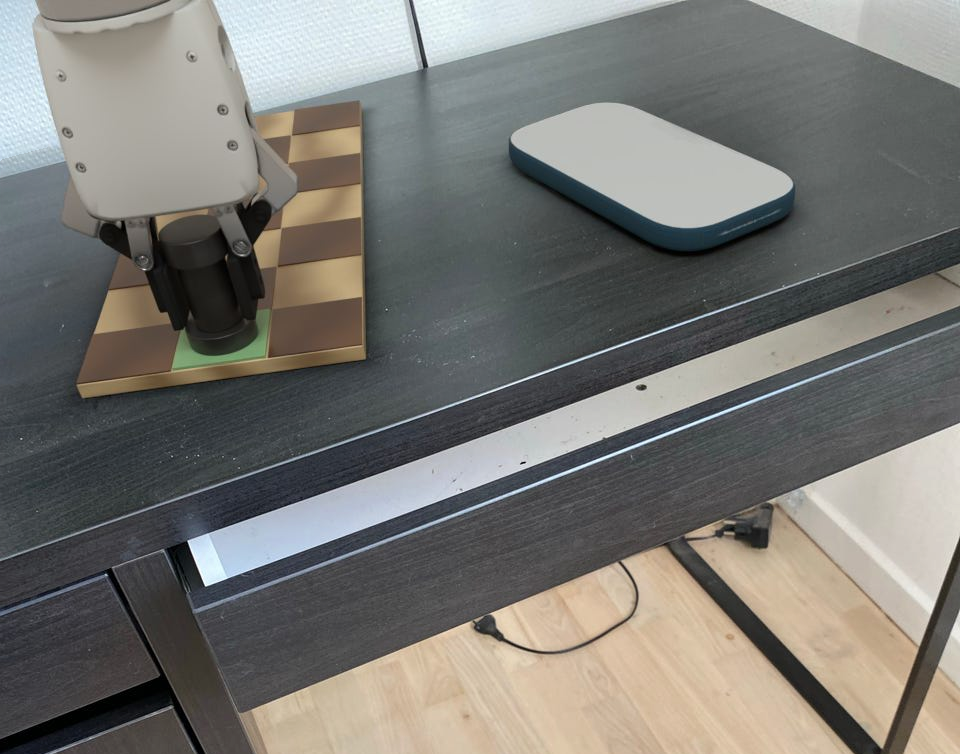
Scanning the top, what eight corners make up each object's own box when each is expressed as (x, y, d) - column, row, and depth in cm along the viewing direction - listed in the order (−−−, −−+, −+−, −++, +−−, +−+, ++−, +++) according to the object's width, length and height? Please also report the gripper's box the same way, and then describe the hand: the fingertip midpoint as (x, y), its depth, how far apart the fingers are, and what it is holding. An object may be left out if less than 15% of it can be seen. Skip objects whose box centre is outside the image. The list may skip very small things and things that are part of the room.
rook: (186, 360, 63) (147, 251, 58) (194, 324, 66) (157, 217, 61) (256, 350, 63) (223, 240, 58) (260, 315, 66) (230, 207, 61)
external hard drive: (494, 162, 82) (491, 136, 80) (611, 120, 85) (610, 94, 84) (680, 268, 67) (682, 239, 66) (813, 213, 71) (817, 184, 69)
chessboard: (82, 399, 64) (75, 383, 63) (166, 140, 93) (162, 128, 92) (366, 359, 64) (363, 343, 63) (362, 112, 92) (360, 99, 92)
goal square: (173, 370, 63) (172, 368, 63) (183, 323, 67) (182, 320, 67) (265, 358, 63) (264, 355, 63) (270, 311, 67) (270, 308, 67)
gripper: (278, -67, 53) (349, 267, 66) (-37, -20, 53) (97, 304, 66) (270, -28, 48) (348, 326, 61) (-79, 24, 48) (75, 365, 61)
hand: (216, 311), depth 64 cm, fingers closed on rook, 3 cm apart
